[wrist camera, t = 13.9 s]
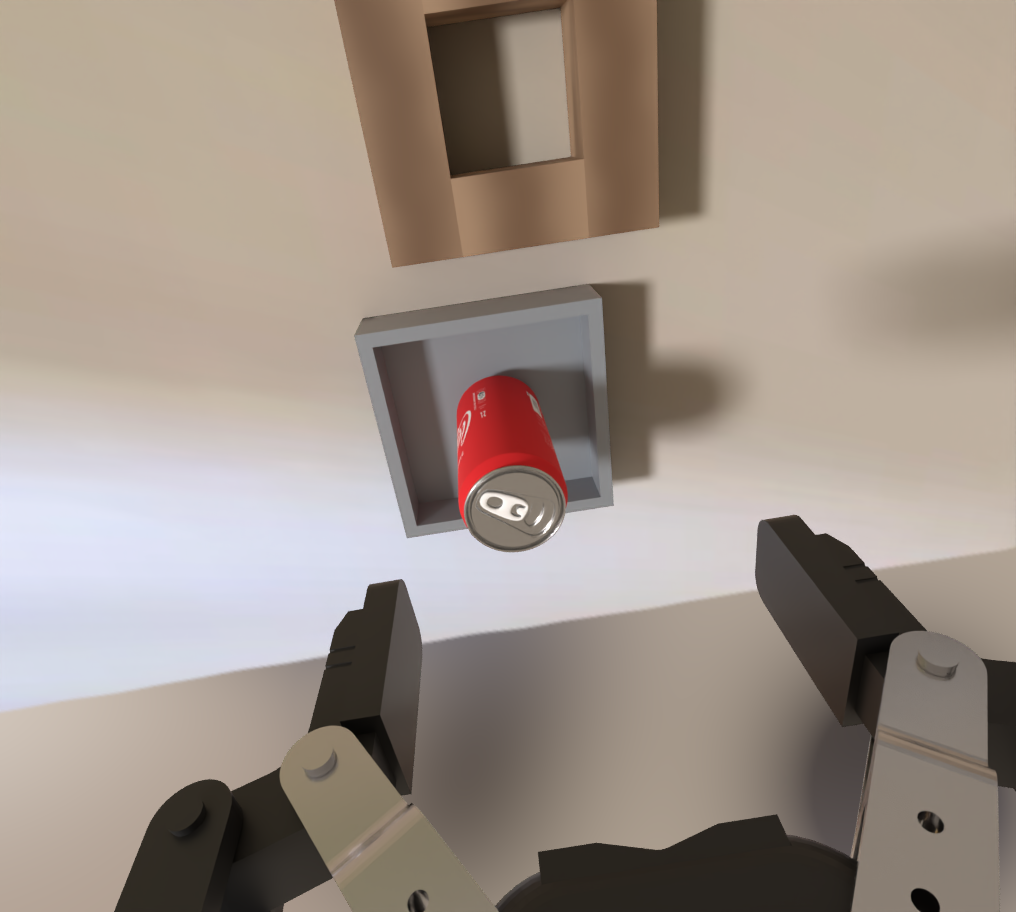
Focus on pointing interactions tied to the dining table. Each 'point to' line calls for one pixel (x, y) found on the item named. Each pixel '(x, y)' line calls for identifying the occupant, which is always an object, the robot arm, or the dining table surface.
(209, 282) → the dining table surface
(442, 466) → the tray
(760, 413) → the dining table surface
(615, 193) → the socket holder
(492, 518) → the beverage can
